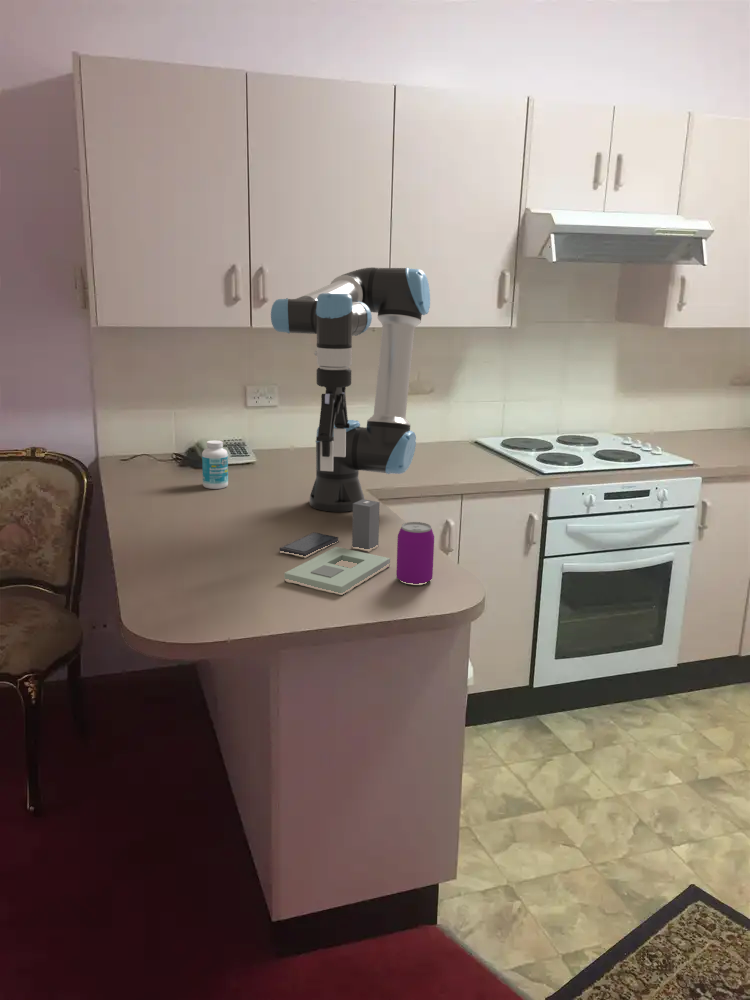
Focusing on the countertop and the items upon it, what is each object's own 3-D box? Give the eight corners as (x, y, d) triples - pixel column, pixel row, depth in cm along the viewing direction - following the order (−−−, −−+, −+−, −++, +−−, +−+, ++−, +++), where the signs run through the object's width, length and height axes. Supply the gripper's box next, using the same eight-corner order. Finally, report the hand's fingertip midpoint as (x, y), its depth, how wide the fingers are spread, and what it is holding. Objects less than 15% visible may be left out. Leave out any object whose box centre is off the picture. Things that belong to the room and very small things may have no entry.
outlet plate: (336, 554, 186) (336, 545, 185) (389, 566, 179) (390, 557, 178) (284, 581, 169) (284, 572, 168) (341, 596, 162) (341, 585, 162)
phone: (313, 536, 198) (313, 531, 197) (338, 542, 194) (338, 536, 194) (279, 552, 186) (279, 547, 186) (304, 558, 183) (304, 553, 182)
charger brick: (361, 543, 194) (362, 498, 191) (378, 547, 192) (379, 501, 189) (352, 548, 190) (352, 502, 187) (368, 552, 188) (369, 505, 185)
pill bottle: (210, 491, 236) (209, 445, 232) (198, 485, 241) (196, 441, 238) (233, 487, 240) (232, 442, 237) (220, 482, 246) (219, 438, 242)
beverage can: (394, 573, 175) (396, 520, 172) (429, 573, 175) (432, 520, 172) (397, 587, 168) (399, 532, 164) (434, 587, 168) (437, 532, 165)
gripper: (329, 360, 187) (328, 450, 193) (302, 373, 163) (303, 476, 169) (361, 361, 186) (359, 452, 192) (339, 375, 162) (338, 478, 168)
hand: (333, 463), depth 181 cm, fingers open, 13 cm apart
